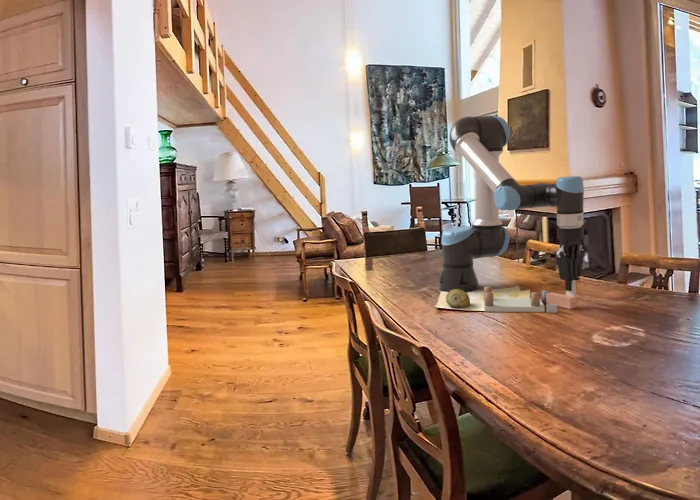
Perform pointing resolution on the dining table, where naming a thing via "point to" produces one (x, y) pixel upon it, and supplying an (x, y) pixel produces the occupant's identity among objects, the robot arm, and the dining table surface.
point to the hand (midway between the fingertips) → (570, 300)
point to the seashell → (457, 298)
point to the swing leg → (558, 299)
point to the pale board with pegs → (515, 303)
